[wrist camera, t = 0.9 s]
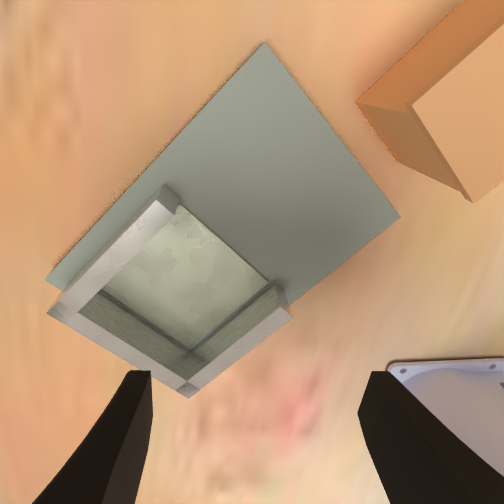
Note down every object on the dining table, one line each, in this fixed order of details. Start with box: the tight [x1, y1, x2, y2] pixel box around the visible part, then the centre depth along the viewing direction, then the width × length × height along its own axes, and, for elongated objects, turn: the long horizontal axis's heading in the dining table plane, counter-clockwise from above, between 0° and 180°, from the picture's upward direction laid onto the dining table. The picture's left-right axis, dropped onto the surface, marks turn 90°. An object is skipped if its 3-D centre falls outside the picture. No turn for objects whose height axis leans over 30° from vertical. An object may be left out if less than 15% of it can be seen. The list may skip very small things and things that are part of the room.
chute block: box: [355, 0, 504, 203], centre depth 14 cm, size 6×5×6 cm
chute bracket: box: [47, 183, 293, 398], centre depth 18 cm, size 8×9×2 cm
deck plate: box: [45, 42, 401, 349], centre depth 19 cm, size 16×11×1 cm
